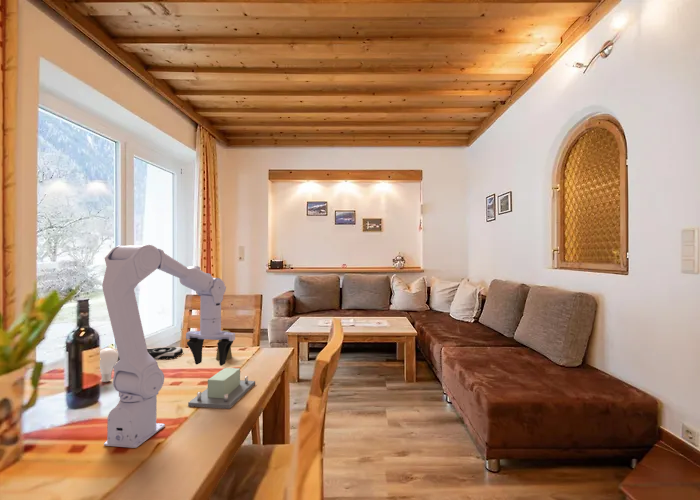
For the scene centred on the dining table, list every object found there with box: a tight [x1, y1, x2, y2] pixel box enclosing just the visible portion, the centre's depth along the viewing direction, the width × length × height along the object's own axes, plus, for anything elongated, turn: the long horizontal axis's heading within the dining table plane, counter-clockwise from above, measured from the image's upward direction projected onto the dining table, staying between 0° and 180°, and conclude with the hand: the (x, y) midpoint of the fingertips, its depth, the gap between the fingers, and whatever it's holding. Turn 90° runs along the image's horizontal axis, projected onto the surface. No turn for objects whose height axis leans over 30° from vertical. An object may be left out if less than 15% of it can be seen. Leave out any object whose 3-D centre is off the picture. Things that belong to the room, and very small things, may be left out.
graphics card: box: [116, 346, 184, 361], centre depth 135 cm, size 10×3×25 cm
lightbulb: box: [99, 347, 119, 383], centre depth 108 cm, size 6×6×11 cm
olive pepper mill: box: [215, 329, 233, 361], centre depth 133 cm, size 6×6×11 cm
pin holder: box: [187, 375, 256, 410], centre depth 99 cm, size 17×12×3 cm
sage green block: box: [207, 367, 241, 398], centre depth 99 cm, size 10×5×5 cm, turn 173°
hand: (210, 363), depth 98 cm, fingers open, 7 cm apart
